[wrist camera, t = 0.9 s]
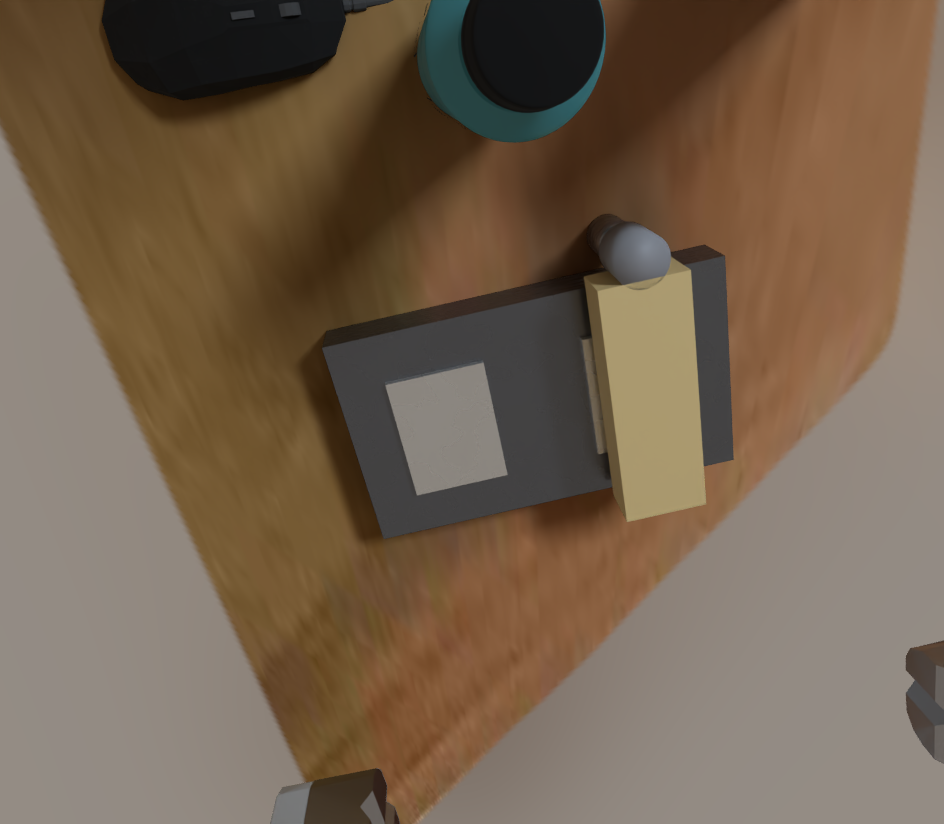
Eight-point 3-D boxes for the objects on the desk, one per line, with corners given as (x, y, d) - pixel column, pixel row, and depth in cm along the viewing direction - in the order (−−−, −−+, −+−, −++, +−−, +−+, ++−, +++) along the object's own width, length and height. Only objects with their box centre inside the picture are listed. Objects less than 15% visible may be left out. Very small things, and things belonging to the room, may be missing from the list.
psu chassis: (311, 281, 42) (303, 298, 39) (701, 192, 42) (726, 201, 39) (384, 513, 49) (383, 543, 46) (715, 438, 49) (736, 463, 46)
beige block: (577, 232, 38) (591, 244, 35) (667, 211, 38) (688, 222, 35) (613, 495, 46) (627, 521, 43) (687, 478, 46) (706, 504, 43)
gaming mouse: (409, 65, 38) (411, 64, 34) (136, 107, 37) (109, 111, 34) (387, -74, 35) (386, -91, 31) (92, -30, 35) (57, -42, 31)
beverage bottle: (458, 148, 39) (508, 208, 21) (386, 37, 37) (375, -1, 19) (556, 76, 38) (695, 76, 20) (489, -44, 36) (583, -166, 18)
